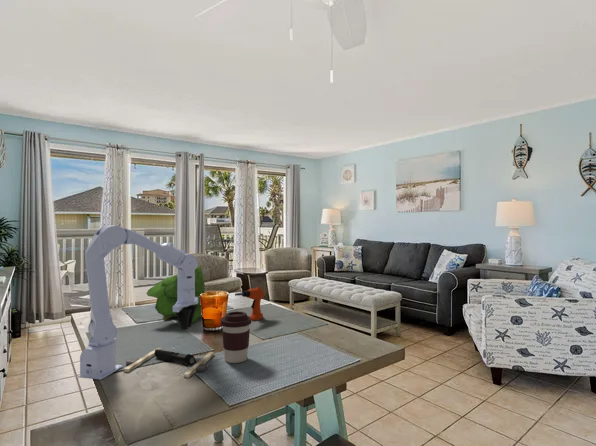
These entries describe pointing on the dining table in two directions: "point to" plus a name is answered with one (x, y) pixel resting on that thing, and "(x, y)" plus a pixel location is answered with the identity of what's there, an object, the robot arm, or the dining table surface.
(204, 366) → the joist track
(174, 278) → the decorative tree
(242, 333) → the coffee cup
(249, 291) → the toy drill
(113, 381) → the dining table surface
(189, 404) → the dining table surface
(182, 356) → the black flashlight
